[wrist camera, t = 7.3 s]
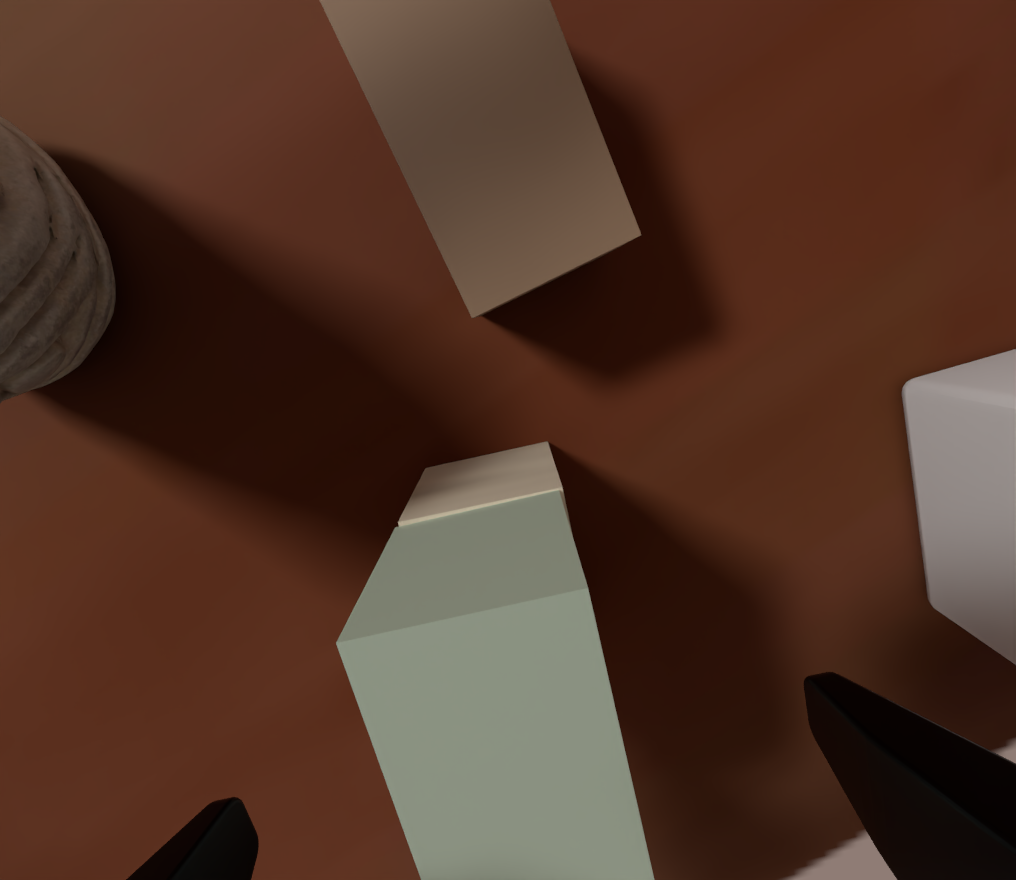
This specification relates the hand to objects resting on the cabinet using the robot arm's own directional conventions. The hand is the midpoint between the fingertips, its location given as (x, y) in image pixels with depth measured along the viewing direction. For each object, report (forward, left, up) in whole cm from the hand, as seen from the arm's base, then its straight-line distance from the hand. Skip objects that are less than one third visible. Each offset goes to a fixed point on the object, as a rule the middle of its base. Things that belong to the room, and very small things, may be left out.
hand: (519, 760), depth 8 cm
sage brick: (0, 0, -4) cm, 4 cm away
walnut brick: (+10, -2, -8) cm, 13 cm away
